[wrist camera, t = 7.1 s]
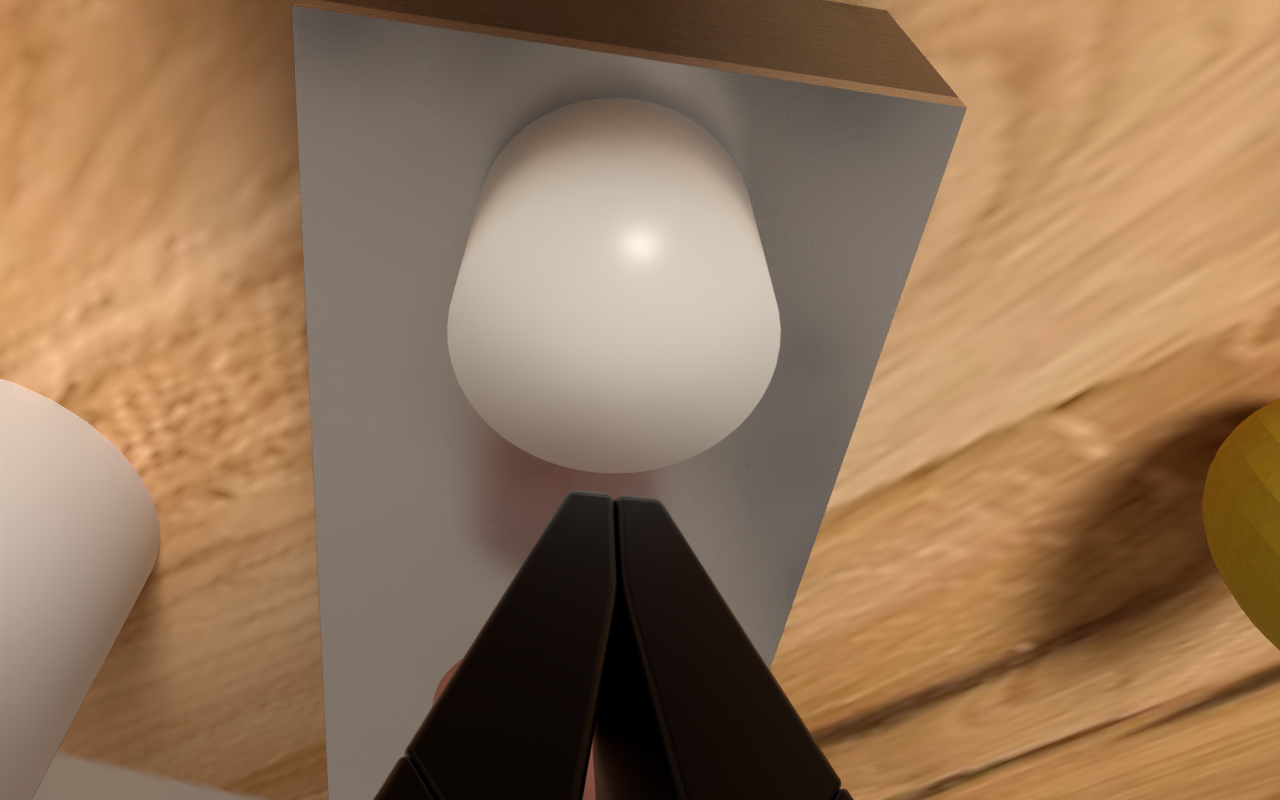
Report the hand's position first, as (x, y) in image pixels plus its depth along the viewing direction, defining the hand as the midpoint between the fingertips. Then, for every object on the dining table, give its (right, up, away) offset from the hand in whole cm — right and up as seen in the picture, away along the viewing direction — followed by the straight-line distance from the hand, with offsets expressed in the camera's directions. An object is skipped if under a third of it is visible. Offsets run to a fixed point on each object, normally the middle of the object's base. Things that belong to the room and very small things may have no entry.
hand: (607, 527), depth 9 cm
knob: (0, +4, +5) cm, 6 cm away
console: (-1, 0, +14) cm, 14 cm away
